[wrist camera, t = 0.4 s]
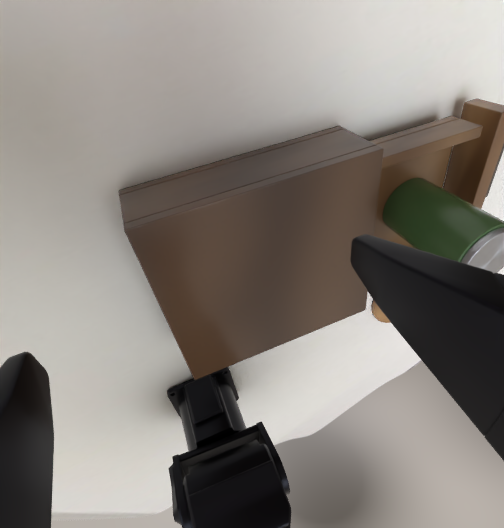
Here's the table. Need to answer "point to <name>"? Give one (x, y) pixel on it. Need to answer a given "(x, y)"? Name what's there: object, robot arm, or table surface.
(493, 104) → the drawer
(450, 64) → the table surface
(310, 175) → the cabinet
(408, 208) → the can
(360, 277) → the robot arm
